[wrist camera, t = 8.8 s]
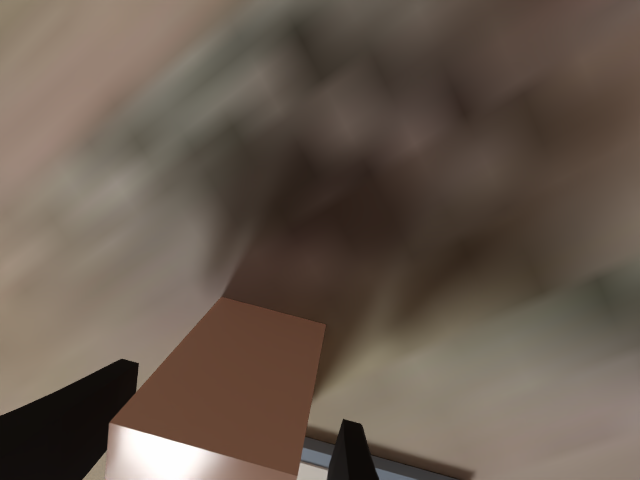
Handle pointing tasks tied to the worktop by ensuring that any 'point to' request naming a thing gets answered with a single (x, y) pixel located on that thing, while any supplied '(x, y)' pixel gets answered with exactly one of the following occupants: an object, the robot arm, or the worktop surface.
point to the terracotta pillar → (223, 401)
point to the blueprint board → (391, 474)
